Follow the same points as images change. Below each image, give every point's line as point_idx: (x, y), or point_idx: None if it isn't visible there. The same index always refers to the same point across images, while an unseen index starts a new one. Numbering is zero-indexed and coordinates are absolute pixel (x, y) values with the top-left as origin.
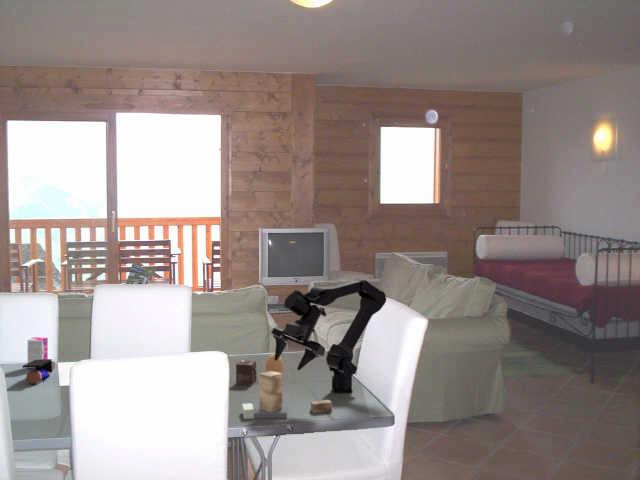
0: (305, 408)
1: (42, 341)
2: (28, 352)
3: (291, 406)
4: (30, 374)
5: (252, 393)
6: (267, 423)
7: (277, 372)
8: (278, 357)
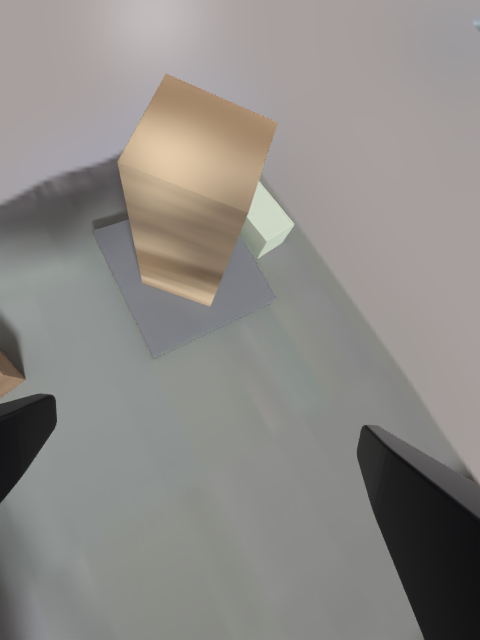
0: (62, 389)
1: None
2: None
3: (143, 385)
4: None
5: None
6: None
7: (170, 177)
8: (373, 494)
